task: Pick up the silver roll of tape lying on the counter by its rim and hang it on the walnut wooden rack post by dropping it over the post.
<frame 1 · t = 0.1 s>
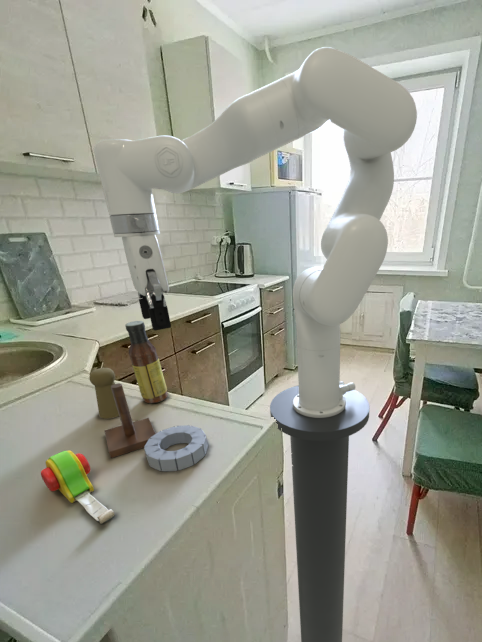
hand: (156, 322, 68), 23 cm above the countertop, tool pointing down, fingers open, 9 cm apart
tape roll: (178, 452, 68), on the countertop
rack: (131, 439, 73), on the countertop
toy measuring tape: (81, 496, 59), on the countertop
sauce bottle: (155, 399, 89), on the countertop
cork: (113, 412, 84), on the countertop
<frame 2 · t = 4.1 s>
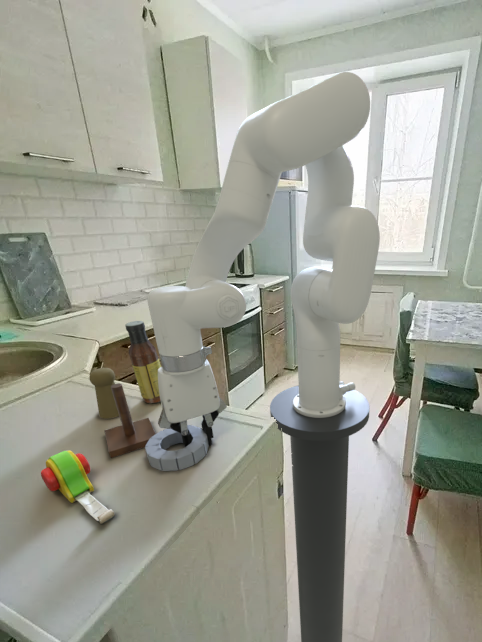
hand: (199, 444, 70), 0 cm above the countertop, tool pointing down, fingers closed on tape roll, 3 cm apart
tape roll: (178, 452, 68), on the countertop, touching gripper
everything else where it was.
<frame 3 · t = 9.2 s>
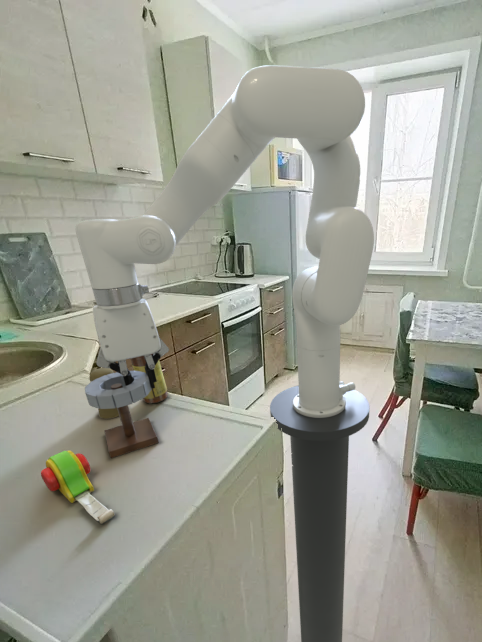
hand: (142, 387, 70), 11 cm above the countertop, tool pointing down, fingers closed on tape roll, 3 cm apart
tape roll: (120, 394, 69), point 10 cm above the countertop, touching gripper
everything else where it was.
when the fingers open (14 cm above the countertop, at t = 17.1 s): tape roll drops 12 cm, resting on rack.
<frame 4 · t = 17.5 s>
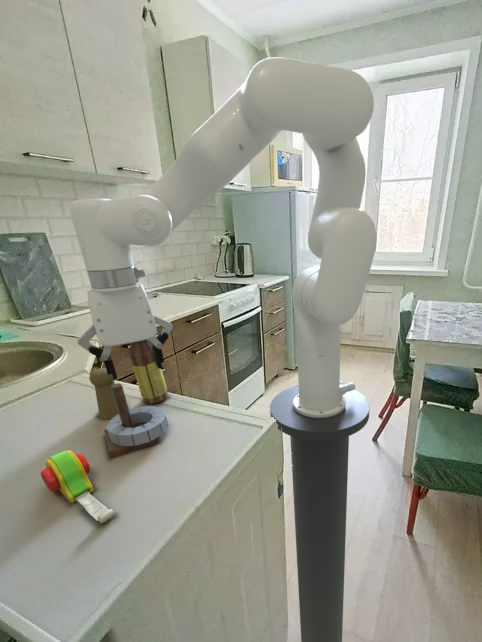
hand: (137, 371, 69), 14 cm above the countertop, tool pointing down, fingers open, 7 cm apart
tape roll: (139, 430, 73), point 1 cm above the countertop, touching rack
everything else where it was.
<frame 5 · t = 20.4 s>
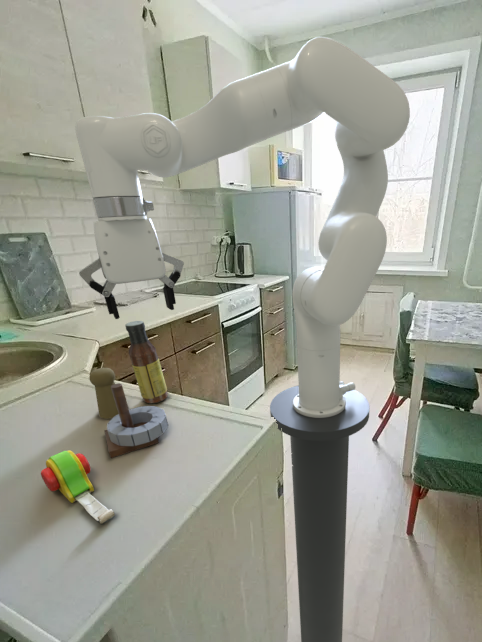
hand: (144, 312, 66), 25 cm above the countertop, tool pointing down, fingers open, 9 cm apart
nothing on the countertop moved.
at the end: tape roll 1.9 cm from the rack (horizontally); tape roll point 1.5 cm above the countertop; the gripper is holding nothing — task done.
